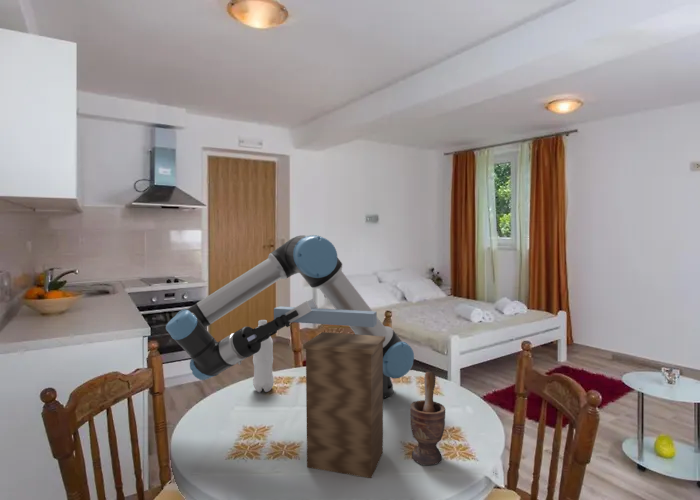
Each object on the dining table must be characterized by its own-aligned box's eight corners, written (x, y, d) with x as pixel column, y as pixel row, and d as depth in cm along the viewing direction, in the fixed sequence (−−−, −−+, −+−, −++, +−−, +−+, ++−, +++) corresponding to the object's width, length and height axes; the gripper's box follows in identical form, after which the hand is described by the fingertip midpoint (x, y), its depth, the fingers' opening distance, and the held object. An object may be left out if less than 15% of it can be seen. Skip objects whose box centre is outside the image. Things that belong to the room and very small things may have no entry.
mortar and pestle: (404, 443, 115) (404, 370, 114) (436, 442, 115) (436, 369, 114) (414, 467, 103) (414, 385, 102) (449, 466, 104) (449, 384, 103)
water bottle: (269, 394, 150) (268, 323, 148) (249, 392, 151) (248, 322, 150) (276, 387, 157) (275, 319, 155) (258, 385, 158) (257, 318, 157)
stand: (304, 468, 103) (303, 344, 102) (323, 442, 115) (322, 332, 114) (373, 479, 98) (372, 350, 97) (385, 451, 111) (385, 336, 109)
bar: (273, 320, 109) (273, 308, 109) (279, 318, 112) (279, 306, 112) (373, 327, 102) (373, 313, 101) (376, 324, 105) (376, 311, 104)
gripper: (262, 349, 121) (330, 312, 115) (230, 367, 106) (306, 324, 99) (250, 325, 122) (316, 287, 116) (216, 339, 107) (291, 296, 100)
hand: (311, 304), depth 108 cm, fingers closed on bar, 3 cm apart
